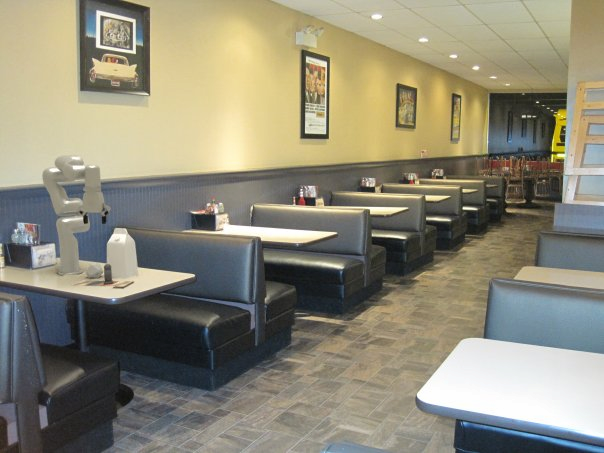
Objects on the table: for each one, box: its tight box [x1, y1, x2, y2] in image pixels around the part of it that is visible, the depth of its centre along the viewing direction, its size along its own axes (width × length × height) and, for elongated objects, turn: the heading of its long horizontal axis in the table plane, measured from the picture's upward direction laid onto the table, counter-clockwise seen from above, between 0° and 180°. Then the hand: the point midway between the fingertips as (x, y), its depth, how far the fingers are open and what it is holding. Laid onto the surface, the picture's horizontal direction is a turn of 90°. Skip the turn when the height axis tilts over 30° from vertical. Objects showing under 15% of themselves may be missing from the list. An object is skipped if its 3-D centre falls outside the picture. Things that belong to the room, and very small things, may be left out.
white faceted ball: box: [84, 263, 104, 279], centre depth 316 cm, size 8×9×10 cm
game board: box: [72, 280, 135, 289], centre depth 301 cm, size 28×13×1 cm, turn 83°
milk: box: [106, 227, 139, 279], centre depth 319 cm, size 12×12×26 cm
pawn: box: [102, 263, 114, 285], centre depth 300 cm, size 5×5×10 cm
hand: (95, 223), depth 304 cm, fingers open, 9 cm apart
